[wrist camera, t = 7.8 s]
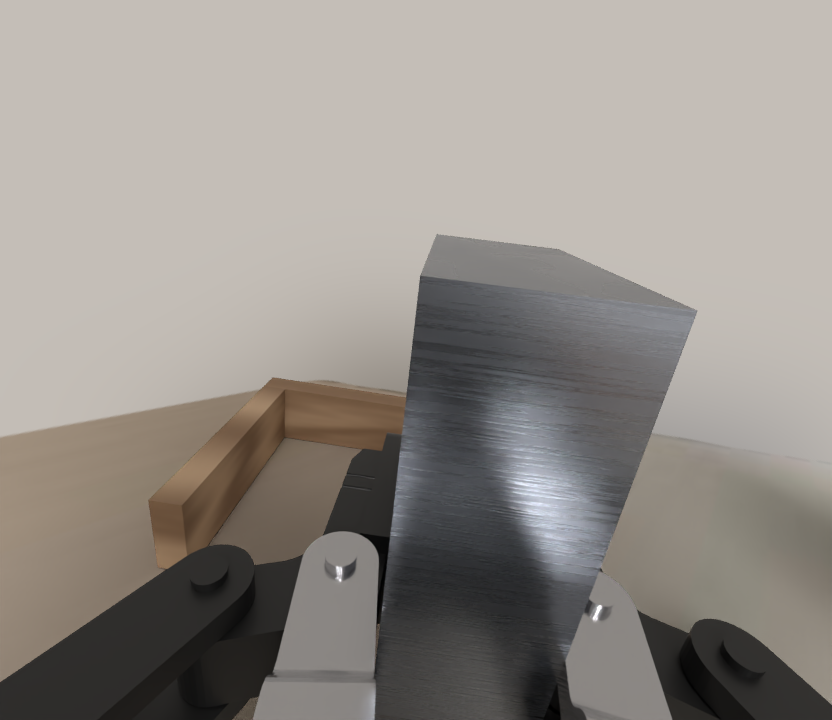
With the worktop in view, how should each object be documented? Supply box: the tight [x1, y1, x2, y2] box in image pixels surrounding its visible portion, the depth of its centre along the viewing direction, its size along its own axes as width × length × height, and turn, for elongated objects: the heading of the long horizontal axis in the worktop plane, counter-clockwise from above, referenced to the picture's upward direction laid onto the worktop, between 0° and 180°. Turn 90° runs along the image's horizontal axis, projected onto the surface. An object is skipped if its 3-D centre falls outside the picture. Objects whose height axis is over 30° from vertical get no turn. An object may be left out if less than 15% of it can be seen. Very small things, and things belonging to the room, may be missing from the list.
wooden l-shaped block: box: [149, 378, 406, 569], centre depth 25 cm, size 14×18×4 cm
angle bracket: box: [375, 234, 697, 720], centre depth 9 cm, size 5×6×14 cm
